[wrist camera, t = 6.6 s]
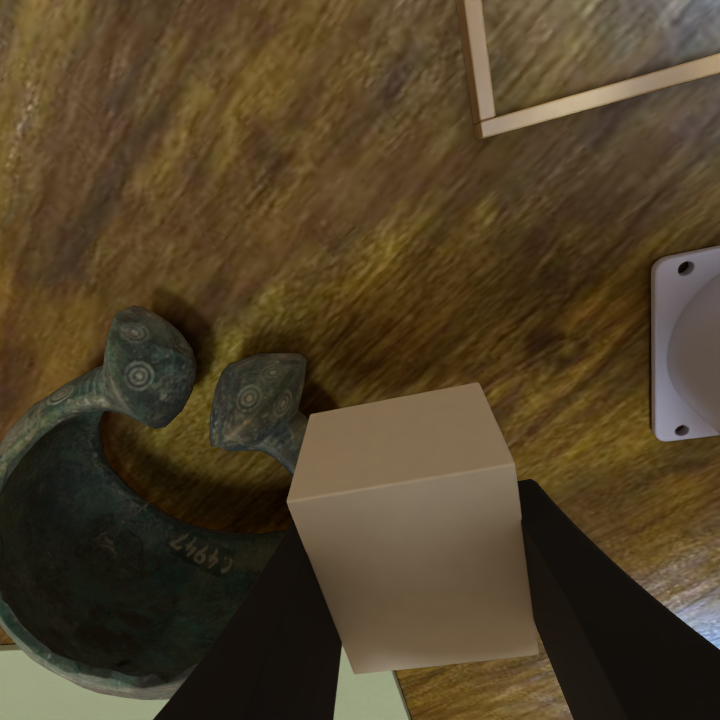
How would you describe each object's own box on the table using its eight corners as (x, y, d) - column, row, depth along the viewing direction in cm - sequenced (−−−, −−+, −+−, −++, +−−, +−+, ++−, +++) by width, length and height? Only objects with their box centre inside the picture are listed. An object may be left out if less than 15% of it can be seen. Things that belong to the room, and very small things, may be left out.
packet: (478, 381, 10) (515, 463, 7) (503, 542, 12) (539, 655, 9) (309, 413, 11) (285, 502, 8) (359, 563, 13) (353, 676, 10)
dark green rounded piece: (397, 344, 19) (375, 509, 10) (340, 577, 26) (296, 802, 17) (68, 270, 20) (-225, 366, 11) (93, 516, 26) (-77, 703, 17)
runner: (379, 626, 27) (378, 634, 27) (417, 735, 32) (417, 744, 31) (-139, 651, 37) (-146, 657, 36) (-56, 732, 41) (-61, 738, 41)
